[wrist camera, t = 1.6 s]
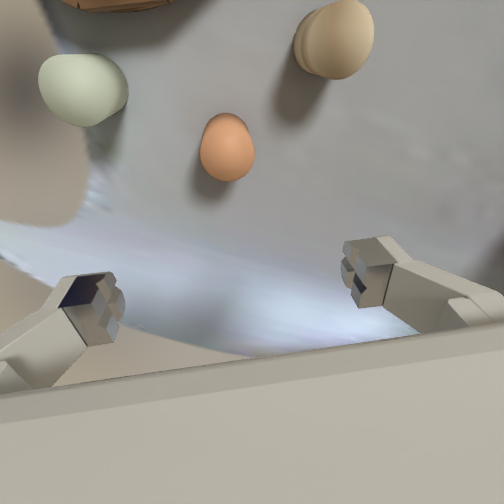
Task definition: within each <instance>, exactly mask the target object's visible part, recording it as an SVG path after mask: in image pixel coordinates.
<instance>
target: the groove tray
mask: <svg viewBox="0 0 504 504" xmlns="http://www.w3.org/2000/svg"><path fill="white" fill-rule="evenodd" d="M61 1H63V2H65V3H67V4H69V5H71V6H73V7H75V8H77V9H81V10H85V11H88V12H102V11H111V12H136V11H141V10H146V9H151V8H155V7H157V6H160V5H163V4H170V1H172V2H173V1H174V0H61Z"/></svg>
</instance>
